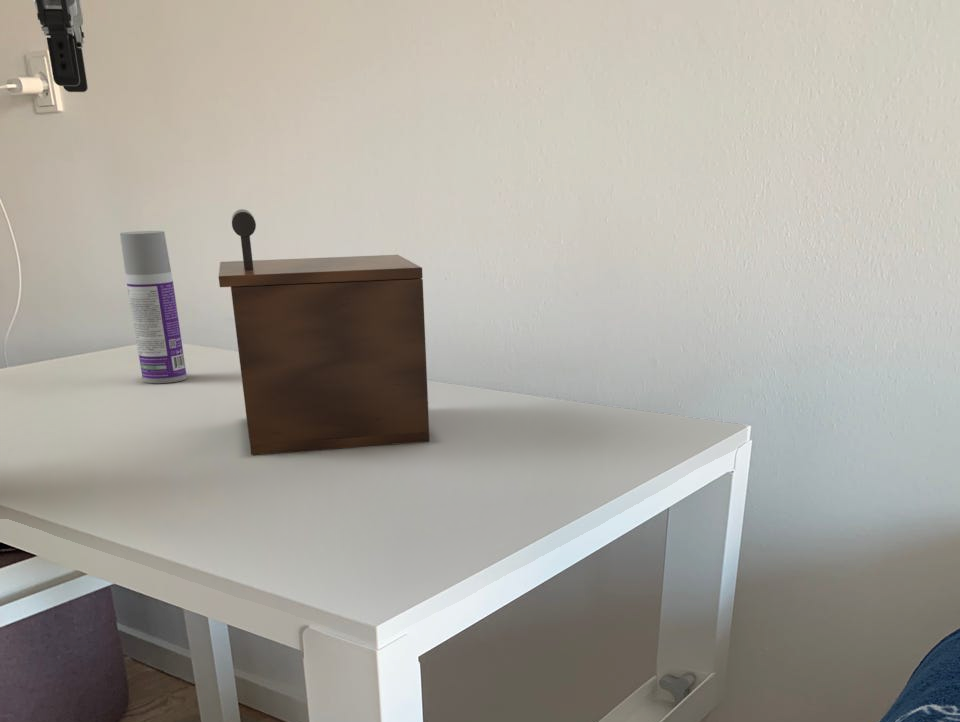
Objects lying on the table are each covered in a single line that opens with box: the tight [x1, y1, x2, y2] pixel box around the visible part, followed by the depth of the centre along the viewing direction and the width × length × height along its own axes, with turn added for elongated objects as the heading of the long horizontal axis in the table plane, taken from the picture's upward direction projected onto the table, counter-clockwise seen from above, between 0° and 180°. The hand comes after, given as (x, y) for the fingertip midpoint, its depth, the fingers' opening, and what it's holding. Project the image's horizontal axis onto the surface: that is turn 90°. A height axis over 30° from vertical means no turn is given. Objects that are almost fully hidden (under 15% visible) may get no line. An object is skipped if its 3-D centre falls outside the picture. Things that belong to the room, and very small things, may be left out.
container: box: [119, 230, 188, 384], centre depth 107 cm, size 5×5×15 cm
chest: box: [230, 278, 430, 456], centre depth 85 cm, size 15×13×13 cm
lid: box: [218, 208, 424, 288], centre depth 81 cm, size 15×13×5 cm
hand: (72, 88), depth 94 cm, fingers open, 8 cm apart
